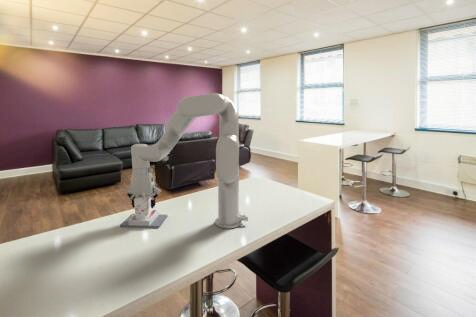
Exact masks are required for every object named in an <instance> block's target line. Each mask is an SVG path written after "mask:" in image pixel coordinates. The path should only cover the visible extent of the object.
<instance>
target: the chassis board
mask: <svg viewBox="0 0 476 317" xmlns="http://www.w3.org/2000/svg"><path fill="white" fill-rule="evenodd" d="M168 217H169V216H168V214H160V209H153V215H152V216H151V217H150V218H149V220H136V217H135V213H131V214H130V215H129V216H128V217H127V218H126V219H125V220H123V221H122V223H120V224H119V228H142V229H160V228H161V226H162V225H163V224H164V222H165V220H166V219H167V218H168Z"/></svg>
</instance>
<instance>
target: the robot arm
mask: <svg viewBox="0 0 476 317" xmlns="http://www.w3.org/2000/svg"><path fill="white" fill-rule="evenodd" d="M213 115H218V118H219V119H218V120H219V126H218V127H219V132H218V133H219V135H218V136H219V137H218V141H217V143H216V144H215V146H216V148H215V174H216V177H217V179H218V180H217V186H218V188H217V189H218V190H217V192H218V193H217V198H218V200H217V201H218V203H217V204H218V206H217V207H218V208H217V209H218V212H217V213H218V216H217V218H216V219H215V220H214V224H215V226H217V227H218V228H221V229H235V228H238V227H240V226H241V225H242V223H243V221H244V222H249V216H246V214H240V211H239V205H240V203H239V200H240V199H239V198H240V197H239V195H240V193H239V192H240V189H239V188H240V162H239V161H240V160H239V159H240V158H239V157H240V139H239V135H240V134H239V132H240V129H239V124H240V123H239V112H238V109H237V107H236V105H235V104H234V102H233V101H232V100H231V99H229V97H227V96H226V95H224V94H221V93H216V92H212V93H205V94H200V95H199V94H198V95H193V96H185V97H183V98H181V99H180V100H179V102H178V104H177V109H176V110H175V112H174V113H173V115H172V116H171V117H170V118H169V119H168V121H167V123H166V129H165V131H164V133H163V134H162V136H161V137H160V138H159V139H158V141H157V142H155V143H154V144H151V145H148V144H146V143H135V144H133V145H131V146H130V150H131V151H130V152H131V153H130V154H131V165H132V173H131V175H130V176H131V177H130V186H129V187H128V188H126V189H124V192H125V194H126V195H127V197H128V198H129V199H130V200H131V206H132V208H133V209H135V205H134V199H135V198H137V197H136V196H139V195H143V193H144V192H145V194H146V195H149V196H150V198H151V208H153V209H154V207H155V206H156V203H157V202H156V198H157V197H158V196H159V195H160V193H161V192H162V190H161V189H160V188H158V187H157V186H156V185H155V179H154V176H153V173H152V172H154V169H153V168H151V166H150V165H151V164H150V162H154V163H155V162H160V161H162V160H163V159H164V158H166V157H167V156H168V155H169V154H170V152H171V151H172V150H173V148H174V147H175V146H176V145H177V143H178V142H179V141H180V139H181V138H182V137H183V135H184V134H185V133H186V132H187V130H188V128H189V127H190V126H191V125H192V123H193V122H194V121H195V120H196V118H199V117H206V116H207V117H208V116H213ZM155 192H156V193H155Z"/></svg>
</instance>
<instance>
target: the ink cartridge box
mask: <svg viewBox="0 0 476 317" xmlns="http://www.w3.org/2000/svg"><path fill="white" fill-rule="evenodd" d="M134 205H135V207H134V214H135V217H136V220H149V218H150V217H151V216H152V215H153V210H154V207H153V208H151V198H150V196H149V195H146V194H145V192H144V193H143V195H137V197H136V198H135V199H134Z"/></svg>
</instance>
